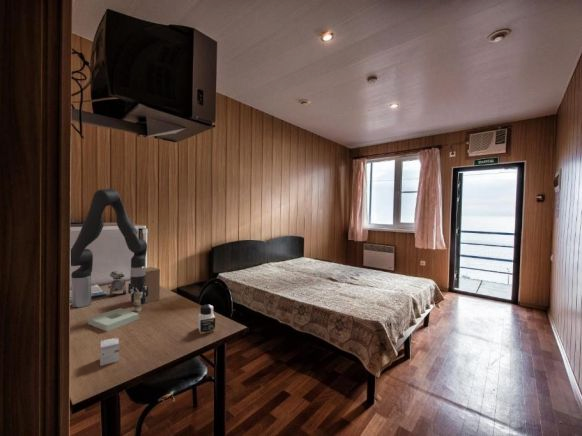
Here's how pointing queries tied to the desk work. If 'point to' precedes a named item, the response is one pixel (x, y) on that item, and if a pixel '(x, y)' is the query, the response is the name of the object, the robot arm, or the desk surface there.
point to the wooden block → (152, 284)
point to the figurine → (117, 283)
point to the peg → (137, 302)
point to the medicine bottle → (206, 319)
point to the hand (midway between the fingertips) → (138, 302)
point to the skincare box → (109, 351)
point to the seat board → (113, 319)
